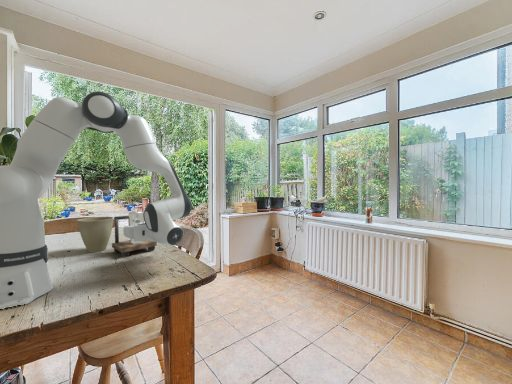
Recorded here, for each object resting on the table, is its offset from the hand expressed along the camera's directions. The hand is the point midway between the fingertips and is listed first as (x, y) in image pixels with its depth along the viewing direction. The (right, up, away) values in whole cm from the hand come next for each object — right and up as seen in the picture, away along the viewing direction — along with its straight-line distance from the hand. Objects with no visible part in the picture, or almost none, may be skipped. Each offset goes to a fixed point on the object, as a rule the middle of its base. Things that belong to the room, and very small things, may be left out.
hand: (142, 225), depth 106 cm
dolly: (-8, -14, +7) cm, 17 cm away
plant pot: (-28, -14, +9) cm, 32 cm away
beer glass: (-6, -9, +7) cm, 13 cm away
